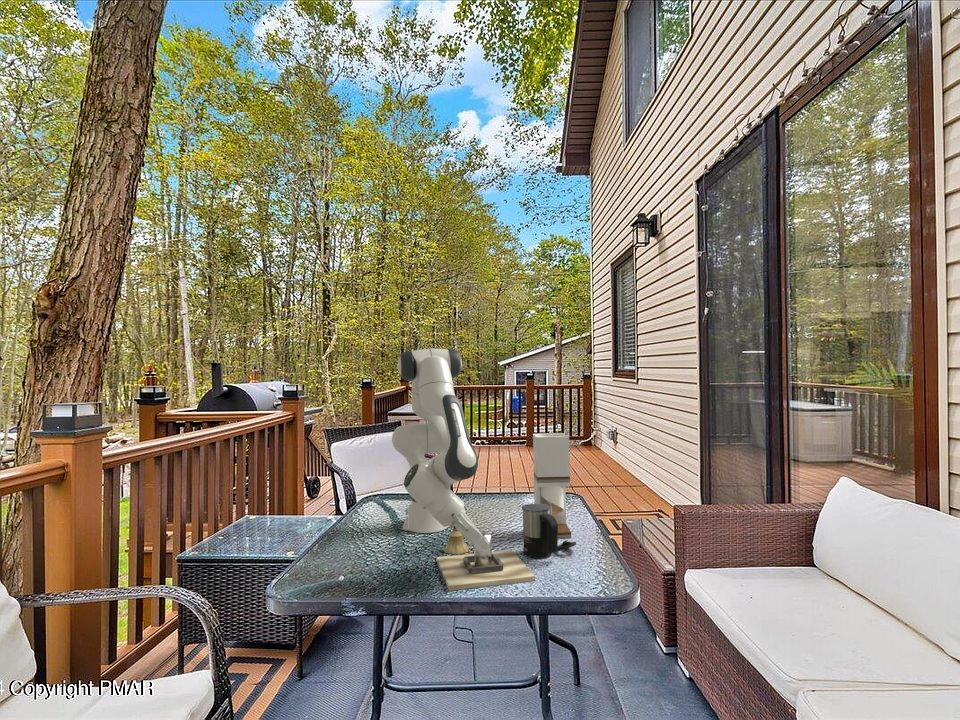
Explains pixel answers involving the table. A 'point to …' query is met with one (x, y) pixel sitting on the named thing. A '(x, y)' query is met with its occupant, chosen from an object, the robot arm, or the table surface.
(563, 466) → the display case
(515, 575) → the hub board
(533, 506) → the milk frother
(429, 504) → the robot arm
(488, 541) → the sleeve
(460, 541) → the hand bell
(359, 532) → the table surface
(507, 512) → the table surface
